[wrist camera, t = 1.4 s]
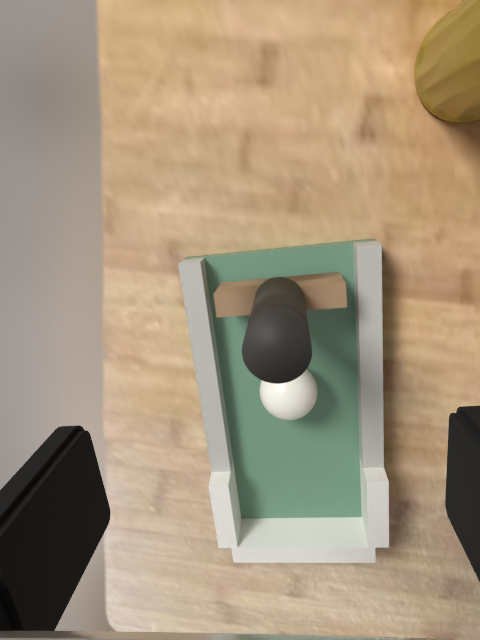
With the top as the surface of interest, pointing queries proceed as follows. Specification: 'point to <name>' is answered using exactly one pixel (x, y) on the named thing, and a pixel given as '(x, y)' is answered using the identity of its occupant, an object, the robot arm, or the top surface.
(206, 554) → the top surface
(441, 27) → the vase
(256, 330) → the striker
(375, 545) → the pitch
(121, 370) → the top surface
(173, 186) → the top surface
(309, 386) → the ball
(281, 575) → the top surface
